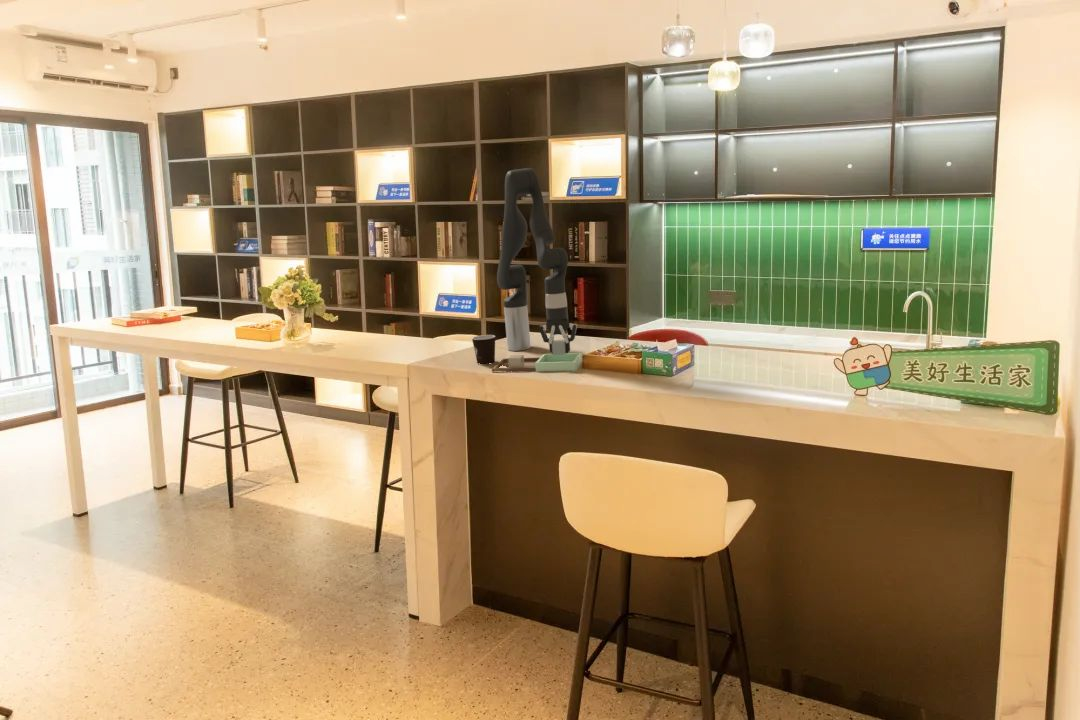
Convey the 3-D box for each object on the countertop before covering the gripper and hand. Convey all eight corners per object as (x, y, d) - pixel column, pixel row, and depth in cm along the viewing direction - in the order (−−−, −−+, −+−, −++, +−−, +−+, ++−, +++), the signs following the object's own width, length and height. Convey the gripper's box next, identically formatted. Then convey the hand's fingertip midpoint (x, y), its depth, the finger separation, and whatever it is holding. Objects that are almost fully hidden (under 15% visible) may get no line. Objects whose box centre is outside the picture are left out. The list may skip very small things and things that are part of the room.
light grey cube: (512, 367, 296) (511, 355, 295) (524, 367, 295) (523, 354, 294) (509, 370, 291) (508, 358, 290) (521, 370, 290) (520, 357, 289)
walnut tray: (503, 362, 306) (503, 358, 306) (546, 361, 303) (545, 357, 302) (492, 373, 291) (491, 369, 291) (536, 372, 288) (536, 367, 287)
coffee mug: (496, 365, 303) (494, 338, 301) (473, 367, 303) (470, 340, 301) (499, 358, 314) (496, 332, 312) (476, 360, 315) (473, 334, 313)
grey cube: (555, 352, 296) (554, 339, 295) (567, 351, 295) (566, 339, 294) (552, 355, 292) (551, 342, 291) (565, 354, 291) (564, 342, 290)
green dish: (544, 363, 300) (543, 354, 299) (582, 362, 297) (581, 352, 296) (535, 372, 287) (535, 363, 286) (575, 371, 283) (574, 361, 283)
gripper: (578, 303, 292) (581, 350, 295) (538, 304, 295) (542, 351, 299) (574, 306, 285) (578, 354, 288) (534, 308, 288) (538, 356, 291)
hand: (560, 353), depth 293 cm, fingers closed on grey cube, 4 cm apart
